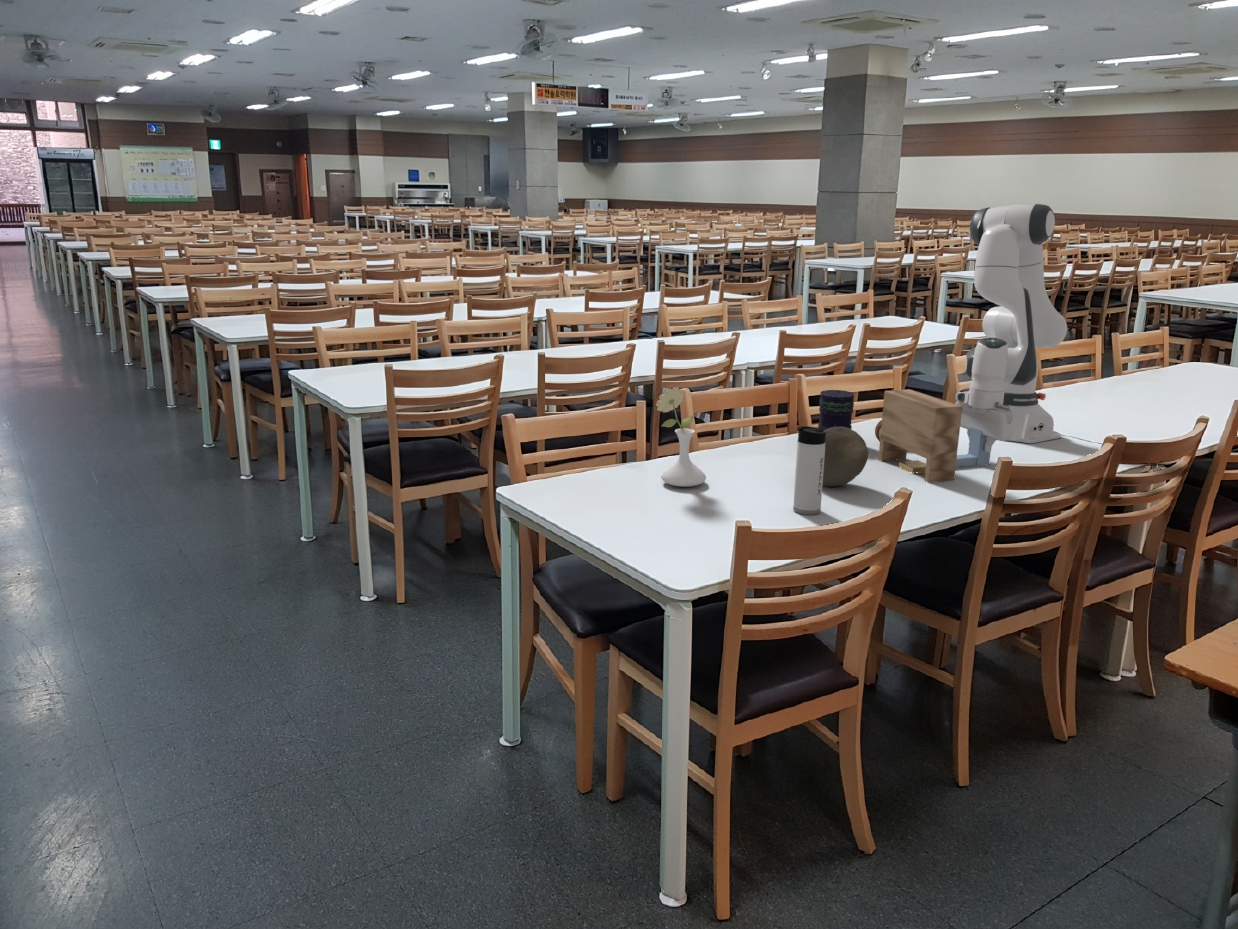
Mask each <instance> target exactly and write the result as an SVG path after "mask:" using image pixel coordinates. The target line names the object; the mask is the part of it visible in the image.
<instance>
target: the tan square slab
mask: <svg viewBox="0 0 1238 929" xmlns="http://www.w3.org/2000/svg"><path fill="white" fill-rule="evenodd" d="M899 467H901V468H903V469H904V470H903V471H905V470H906V471H905V472H907V471H908V472H907V473H909V472H912V473H913V472H914V473H916V472H925V469H926V462H923V461H920V460H918V459H917V460H916V459H915V460H910V461H909V460H908V461H899V462H898V468H899ZM916 474H917V473H916Z"/></svg>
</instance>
